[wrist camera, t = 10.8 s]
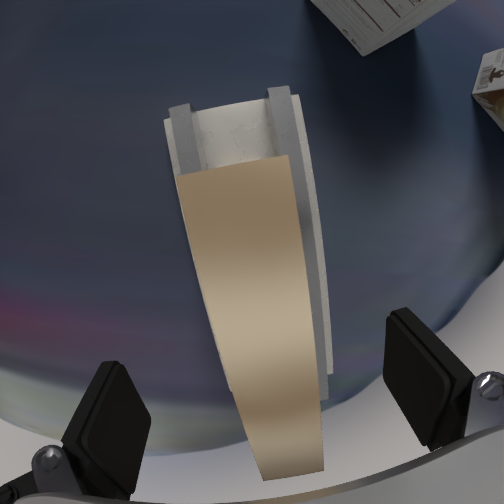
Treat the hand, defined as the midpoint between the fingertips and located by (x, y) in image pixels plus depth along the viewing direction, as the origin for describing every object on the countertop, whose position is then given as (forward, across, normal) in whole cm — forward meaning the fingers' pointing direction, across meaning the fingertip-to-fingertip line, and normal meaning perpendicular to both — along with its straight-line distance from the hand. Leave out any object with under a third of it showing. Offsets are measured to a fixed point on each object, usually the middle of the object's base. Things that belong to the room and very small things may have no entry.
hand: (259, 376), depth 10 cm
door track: (+14, -1, 0) cm, 14 cm away
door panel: (+12, -1, 0) cm, 12 cm away
